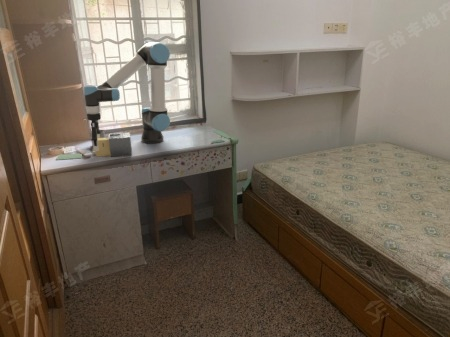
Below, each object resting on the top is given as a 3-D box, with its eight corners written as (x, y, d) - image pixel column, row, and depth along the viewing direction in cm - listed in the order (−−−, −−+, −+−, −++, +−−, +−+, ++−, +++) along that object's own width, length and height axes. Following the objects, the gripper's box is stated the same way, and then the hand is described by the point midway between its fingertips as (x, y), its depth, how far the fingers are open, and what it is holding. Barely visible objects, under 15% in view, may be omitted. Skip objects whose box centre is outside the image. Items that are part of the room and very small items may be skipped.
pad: (83, 153, 219) (83, 153, 219) (81, 158, 211) (81, 157, 211) (58, 155, 216) (58, 154, 216) (55, 160, 208) (55, 159, 207)
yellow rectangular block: (118, 152, 222) (116, 137, 218) (118, 155, 217) (116, 139, 214) (96, 154, 219) (94, 138, 215) (95, 156, 214) (93, 140, 211)
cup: (91, 148, 230) (89, 133, 227) (93, 144, 238) (91, 129, 234) (105, 147, 232) (103, 132, 228) (106, 143, 239) (104, 129, 236)
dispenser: (131, 149, 227) (130, 132, 223) (131, 155, 216) (129, 137, 212) (111, 151, 224) (109, 133, 220) (110, 157, 213) (107, 138, 209)
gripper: (89, 109, 218) (93, 142, 226) (83, 117, 196) (88, 154, 203) (101, 108, 220) (105, 141, 227) (98, 116, 197) (102, 153, 205)
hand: (97, 147), depth 215 cm, fingers open, 13 cm apart
